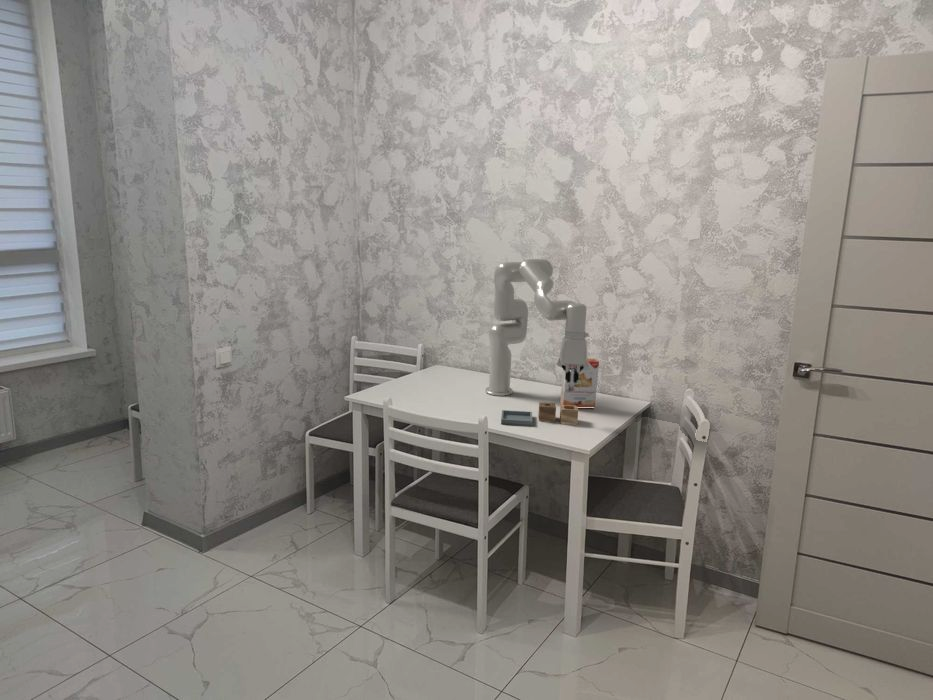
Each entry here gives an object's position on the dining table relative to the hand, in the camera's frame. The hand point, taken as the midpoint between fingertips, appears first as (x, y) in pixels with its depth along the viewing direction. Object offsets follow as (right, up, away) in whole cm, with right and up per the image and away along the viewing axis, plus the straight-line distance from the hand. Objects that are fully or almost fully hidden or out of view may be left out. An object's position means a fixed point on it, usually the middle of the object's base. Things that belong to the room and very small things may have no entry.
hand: (571, 381), depth 250 cm
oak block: (-1, -16, +4) cm, 17 cm away
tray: (-21, -16, +3) cm, 27 cm away
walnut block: (-9, -15, +6) cm, 19 cm away
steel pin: (0, -3, +1) cm, 4 cm away
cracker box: (+6, -12, +24) cm, 27 cm away
